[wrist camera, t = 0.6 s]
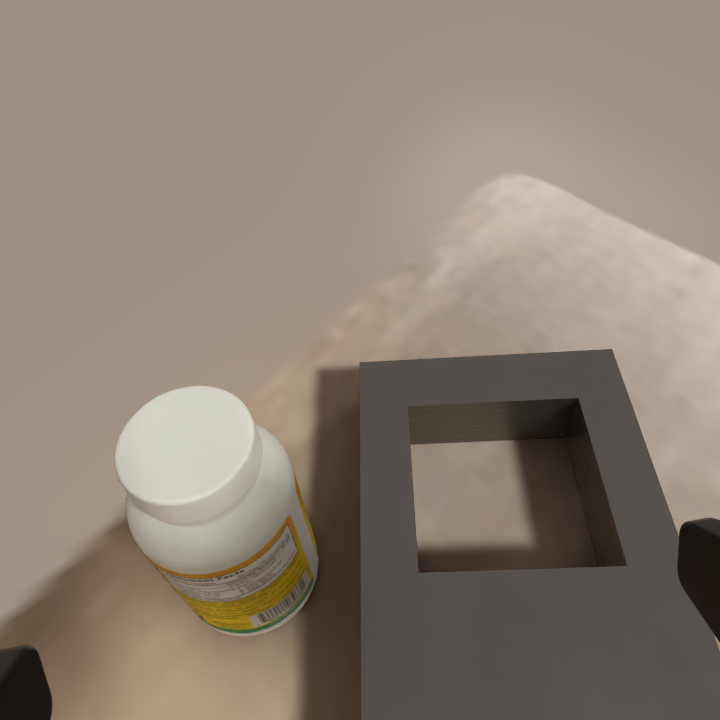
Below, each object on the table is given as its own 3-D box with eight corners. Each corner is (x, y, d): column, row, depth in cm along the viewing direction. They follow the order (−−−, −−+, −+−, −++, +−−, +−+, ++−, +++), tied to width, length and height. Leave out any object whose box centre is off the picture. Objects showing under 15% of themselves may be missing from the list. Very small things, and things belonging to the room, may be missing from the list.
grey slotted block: (790, 1002, 16) (853, 1026, 14) (370, 999, 16) (362, 1021, 14) (596, 390, 29) (612, 349, 26) (364, 401, 29) (359, 362, 27)
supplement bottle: (305, 649, 22) (248, 543, 15) (169, 629, 23) (52, 519, 16) (331, 514, 26) (295, 373, 18) (212, 501, 27) (132, 361, 19)
